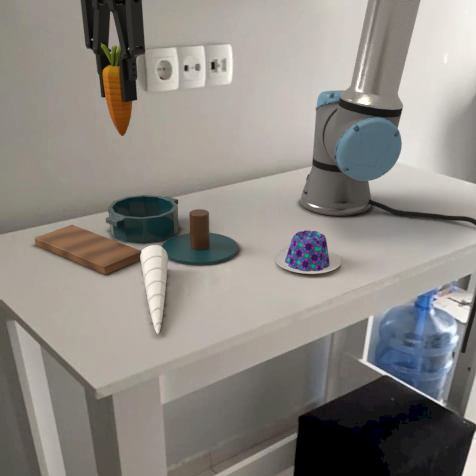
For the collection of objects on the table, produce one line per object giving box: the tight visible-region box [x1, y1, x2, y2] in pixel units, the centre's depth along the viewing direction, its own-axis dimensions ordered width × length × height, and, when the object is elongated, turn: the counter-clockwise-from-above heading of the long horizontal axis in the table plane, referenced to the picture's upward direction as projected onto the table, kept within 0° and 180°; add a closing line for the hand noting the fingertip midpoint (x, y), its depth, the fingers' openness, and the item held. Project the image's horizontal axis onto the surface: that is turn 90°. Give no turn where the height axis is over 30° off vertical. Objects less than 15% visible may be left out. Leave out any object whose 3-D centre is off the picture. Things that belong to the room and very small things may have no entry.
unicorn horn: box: [140, 244, 169, 335], centre depth 101 cm, size 5×24×5 cm, turn 4°
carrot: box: [101, 43, 133, 137], centre depth 109 cm, size 5×5×15 cm
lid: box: [162, 208, 239, 266], centre depth 117 cm, size 14×14×7 cm
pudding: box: [274, 229, 342, 275], centre depth 113 cm, size 12×12×5 cm
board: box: [33, 224, 142, 276], centre depth 117 cm, size 20×9×2 cm, turn 51°
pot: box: [105, 194, 180, 244], centre depth 126 cm, size 13×17×5 cm
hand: (119, 98), depth 110 cm, fingers closed on carrot, 5 cm apart
